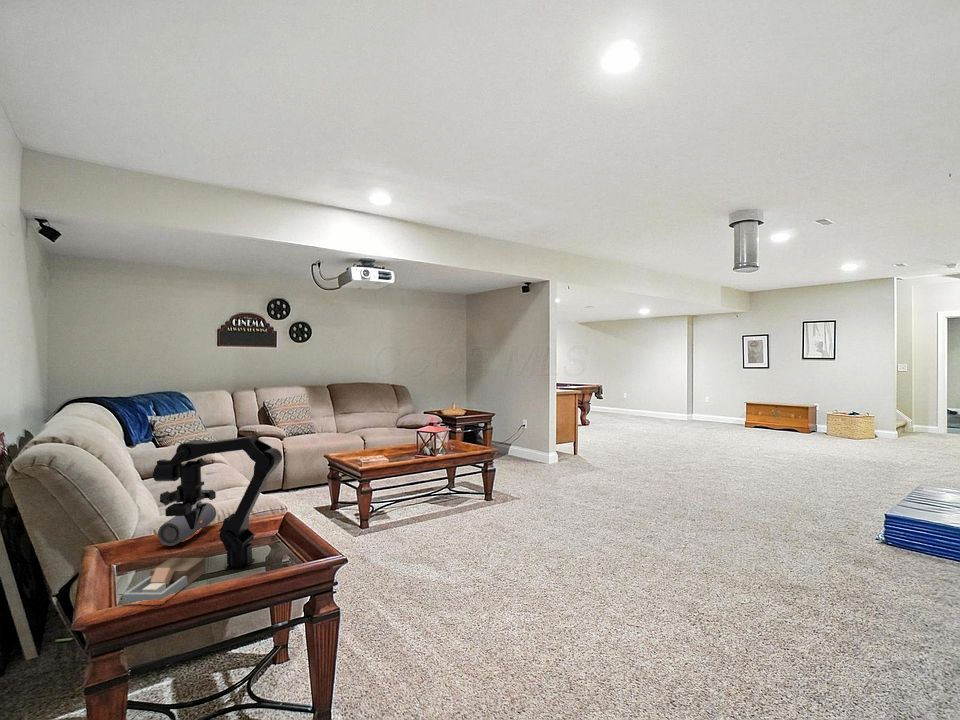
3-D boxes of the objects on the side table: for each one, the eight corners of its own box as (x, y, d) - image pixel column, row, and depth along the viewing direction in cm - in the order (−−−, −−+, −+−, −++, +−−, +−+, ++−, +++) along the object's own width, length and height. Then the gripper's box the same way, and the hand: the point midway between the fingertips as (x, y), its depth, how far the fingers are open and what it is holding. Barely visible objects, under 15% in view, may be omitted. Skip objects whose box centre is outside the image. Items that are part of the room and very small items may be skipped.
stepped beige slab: (205, 572, 156) (204, 557, 155) (187, 585, 147) (186, 570, 146) (170, 572, 156) (170, 557, 156) (150, 585, 147) (150, 570, 147)
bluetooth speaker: (183, 549, 174) (181, 521, 174) (156, 549, 174) (155, 521, 174) (218, 526, 197) (217, 500, 196) (195, 526, 197) (194, 501, 197)
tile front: (156, 589, 138) (156, 598, 138) (165, 582, 142) (166, 591, 142) (142, 589, 139) (142, 598, 139) (152, 582, 143) (152, 591, 143)
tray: (187, 585, 147) (187, 575, 146) (162, 605, 136) (161, 594, 136) (150, 585, 147) (150, 575, 147) (122, 605, 136) (122, 594, 136)
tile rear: (174, 571, 147) (170, 567, 145) (168, 585, 144) (163, 582, 142) (160, 571, 147) (156, 567, 145) (154, 585, 144) (150, 582, 142)
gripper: (182, 473, 168) (184, 519, 169) (146, 489, 150) (148, 541, 150) (215, 472, 169) (217, 518, 169) (184, 488, 150) (185, 540, 150)
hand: (192, 529), depth 160 cm, fingers closed
